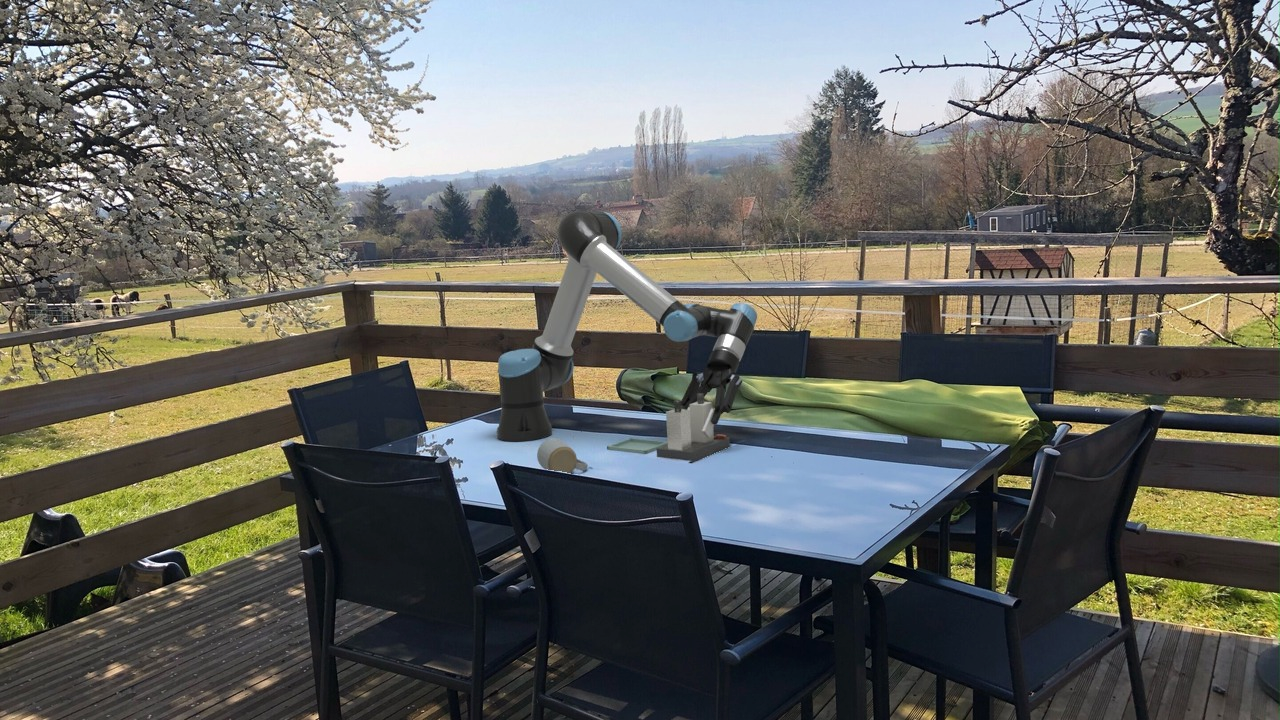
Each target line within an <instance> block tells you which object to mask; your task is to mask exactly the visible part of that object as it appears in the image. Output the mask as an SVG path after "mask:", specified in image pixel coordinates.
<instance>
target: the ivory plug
mask: <svg viewBox="0 0 1280 720" xmlns="http://www.w3.org/2000/svg"><path fill="white" fill-rule="evenodd" d="M689 406H690V425H691V441H693V442H702V443H707V442H710V441H712V440H714V436H715V435H714V434H715V433H714V428H713V429H712V432H711V434H710V437H706V436H705V435H704V433H703V432H702V429H703V427H704V425H705V422H706V420H707V417H708V415H709V413H710V410H711V409H713V402H711V401H705V397H704V393H698V394H697V402H695V403H692V404H689Z"/></svg>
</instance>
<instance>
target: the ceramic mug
mask: <svg viewBox="0 0 1280 720" xmlns="http://www.w3.org/2000/svg"><path fill="white" fill-rule="evenodd" d="M536 457H537V462H538V464H539V465H540V466H541V468H543V469H544V470H546V469H548V470H554V471H562V472H567V473H570V474H572V472H574V470H578V471H582V472H585V471H586V470H587V468H588V466H589V465H588V463H587V462H585V461H583V460H581V459H578V458H577V454H576V452H575V450H574V449H573V448H572V447H571V446H569V445H568V444H567V443H566V442H565V441H563V440H562V439H559V438H556V437H552V438H547V439H546V440H544V441H543V442H542V443H541V444H540V446H539V447H538V449H537V456H536Z"/></svg>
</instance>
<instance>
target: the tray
mask: <svg viewBox="0 0 1280 720" xmlns="http://www.w3.org/2000/svg"><path fill="white" fill-rule="evenodd" d="M665 445H668V441H665V440H664V441H663V440H656V439H655V440H654V439H653V440H652V439H644V438H635V437H634V438H633V437H630V438H626V439H624V440H621V441H618V442H616V443H612V444H609V445H607V446H606V450H608V451H615V452H624V453H632V454H640V455H641V454H642V455H647V454H650V453H653V452H657V448H660V447H662V446H665Z"/></svg>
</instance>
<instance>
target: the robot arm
mask: <svg viewBox="0 0 1280 720" xmlns="http://www.w3.org/2000/svg"><path fill="white" fill-rule="evenodd" d="M622 234H623V233H622V227H621V226H620V223H619V221H618V219H617V218H616V217H615V216H613V215H612V214H611V213H609V212H606V211H601V210H575V211H571V212H569V213H568V214H566V215H564V217H563V218H562V219H561V221H560V222H559V224H558V228H557V239H558V242H559V244H560V247H562V249H563V250H564V251H565V254H566V255H567V257H568V260H567V264H566V266H565V269H564V272H563V275H562V278H561V281H560V283H559V286H558V289H557V292H556V296H555V297H554V300H553V301H554V302H553V303H552V307H551V309H550V312H549V315H548V319H547V322H546V324H545V327H544V329H543V333H542V334H541V335H540V336H537V337H536V338H535V339H534V343H533V344H532V348H521V349H520V348H519V349H516V350H511V351H508V352H505V353H503V354H501V355H500V357H499V358H498V362H497V363H498V364H497V366H498V368H497V373H498V381H499V383H498V384H499V394H500V405H501V412H500V415H499V420H498V427H497V428H496V436H497V437H496V438H497V439H498V440H501V441H505V442H506V441H507V442H524V441H526V442H527V441H534V440H538V439H539V440H541V439H543V438H546V437H549V436H551V435H552V434H553V428H552V423H551V422H550V420H549V416H548V413H547V411H546V408H545V403H544V392H547V391H551V390H555V389H558V388H559V387H560V388H561V386H563V385H564V384H566V383H567V382H568V381H569V380H570V379H571V377H572V375H573V372H574V365H575V363H574V361H573V355H574V352H575V351H574V349H573V348H572V342H573V340H574V337H575V335H576V332H577V328H578V326H579V324H580V321H581V318H582V316H583V312H584V309H585V306H586V304H587V301H588V298H589V295H590V293H591V289H592V287H593V285H594V281H595V278H596V276H597V274H598V275H599V276H600V277H602V278H603V279H604V280H606V281H607V282H608V283H609V284H610V285H611V286H613V287H614V288H615V289H616V290H618V291H619V292H620V293H621V294H623V295H624V296H625V297H626V298H627V299H628V300H630V301H631V302H633V303H634V305H636V306H637V307H639V309H641V310H642V311H643V312H645V313H646V314H647V315H649V317H651V318H652V319H654V320H655V321H656V322H657V323H658V324H659V325H660V326H661V327H663V331H664V334H665V336H666V337H667V338H668V339H670V340H671V341H673V342H677V343H679V342H688V341H690V340H692V339H695V338H697V337H700V336H706V337H707V336H708V337H714V338H717V340H715V341H716V342H715V344H714V346H713V348H712V352H711V353H710V355H709V357H708V358H709V359H708V360H707V366H706V368H705V370H704V371H703V372H702V373H697V372H695V371H694V372H693V373H692V377H691V381H690V383H689V385H688V386H687V389H686V390H685V393H684V395H683V397H682V399H681V407H683V409H684V410H690V406H689V404H692V403H695V402H697V394H698V393H704V398H705V397H706V396H707V394H708V393H710V392H711V391H712V390H713V389H715V400H714V406H713V408H712V409H711V410H710V413H709V415H708V417H707V420H706V422H705V425H704V427H703V429H702V432H703V433H704V435H705V436H706V437H710V434H711V432H712V429H713V430H714V427H715V425H718V424H719V420H720V418H721V416H722V415H723V414H724V413H726V414H729V413H731V411H732V407H733V404H734V401H735V398H736V396H737V392H738V389H739V388H740V386H741V385H742V384H743V379H742V378H741V377H740V375H739V374H736V373H737V370H738V367H739V365H740V362H741V360H742V358H743V356H744V353H745V350H746V348H747V345H748V343H749V341H750V339H751V336H752V334H753V332H754V330H755V326H756V322H757V321H758V320H757V319H758V313H757V311H756V310H755V309H754V307H753V306H751V305H750V304H747V303H745V302H738V303H737V302H735V303H733V304H732V305H731V307H730V308H729V309H722V308H717V307H713V306H708V305H704V304H703V305H702V304H700V303H691V302H690V303H685V304H683V303H682V302H680V301H679V300H678V298H676V297H675V296H673V295H672V294H671V293H669V292H668V291H667V290H666V289H665V288H663V287H662V286H661V285H660V284H658V283H657V282H656V281H655V280H653V279H652V278H651V276H649V275H647V274H646V273H645V272H644V271H642V270H641V269H640V268H639V267H638V266H636V264H633V263H632V262H631V261H630V260H629V259H628V258H626V257H625V256H624V255H622V253H620V252H619V251H618V250H616V249H618V247H619V245H620V244H621V240H622ZM728 384H729V385H728ZM727 386H728V387H727ZM690 426H691V425H690Z"/></svg>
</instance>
